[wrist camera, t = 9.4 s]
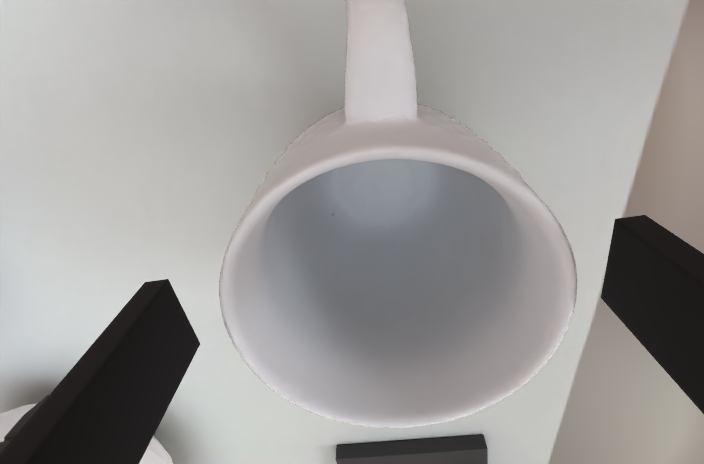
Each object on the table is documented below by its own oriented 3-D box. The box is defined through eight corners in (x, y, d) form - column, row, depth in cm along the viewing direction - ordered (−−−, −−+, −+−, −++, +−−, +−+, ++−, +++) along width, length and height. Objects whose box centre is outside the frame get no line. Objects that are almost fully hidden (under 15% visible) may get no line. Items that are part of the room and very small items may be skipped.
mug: (259, 6, 19) (96, -22, 7) (481, -20, 18) (680, -97, 7) (305, 255, 26) (258, 436, 15) (466, 245, 25) (550, 427, 14)
